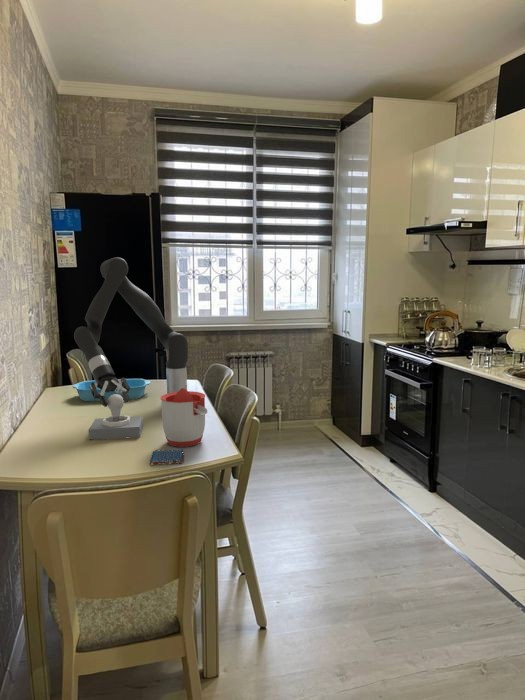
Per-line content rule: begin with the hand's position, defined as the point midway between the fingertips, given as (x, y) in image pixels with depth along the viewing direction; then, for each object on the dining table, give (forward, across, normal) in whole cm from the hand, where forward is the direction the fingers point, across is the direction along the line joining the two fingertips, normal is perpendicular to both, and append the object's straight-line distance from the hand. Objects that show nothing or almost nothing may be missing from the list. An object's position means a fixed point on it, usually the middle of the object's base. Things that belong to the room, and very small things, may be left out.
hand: (117, 403), depth 185 cm
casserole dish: (-31, +26, +48) cm, 63 cm away
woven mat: (+34, -2, -17) cm, 38 cm away
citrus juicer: (+28, +12, -11) cm, 32 cm away
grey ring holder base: (+8, 0, +9) cm, 12 cm away
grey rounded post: (+5, 0, +6) cm, 8 cm away
